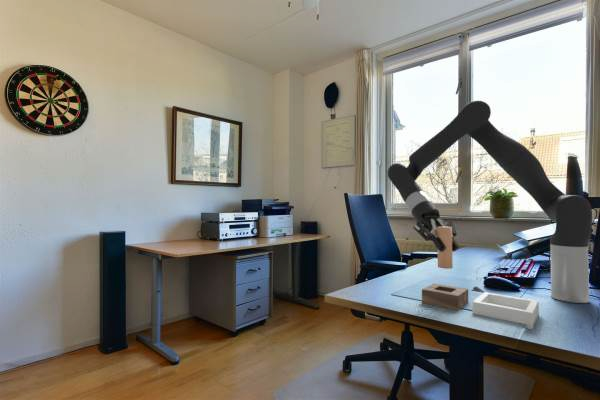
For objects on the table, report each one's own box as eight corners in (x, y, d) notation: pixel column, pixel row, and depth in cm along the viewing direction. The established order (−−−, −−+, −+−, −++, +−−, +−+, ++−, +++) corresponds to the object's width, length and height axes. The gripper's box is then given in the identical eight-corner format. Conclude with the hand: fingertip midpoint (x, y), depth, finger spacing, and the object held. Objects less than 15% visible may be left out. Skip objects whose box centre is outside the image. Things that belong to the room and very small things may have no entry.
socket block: (434, 299, 101) (434, 283, 101) (468, 305, 94) (468, 288, 94) (421, 306, 93) (421, 289, 93) (458, 314, 86) (458, 295, 86)
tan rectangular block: (440, 265, 97) (439, 226, 97) (454, 267, 94) (453, 226, 94) (435, 267, 94) (435, 227, 94) (450, 269, 91) (449, 227, 91)
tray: (484, 305, 94) (484, 292, 94) (538, 315, 85) (538, 300, 85) (472, 316, 84) (472, 301, 84) (532, 329, 76) (532, 312, 76)
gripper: (408, 199, 99) (436, 242, 87) (445, 199, 103) (476, 240, 92) (398, 216, 104) (423, 258, 92) (433, 215, 108) (462, 256, 97)
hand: (449, 249), depth 92 cm, fingers closed on tan rectangular block, 4 cm apart
